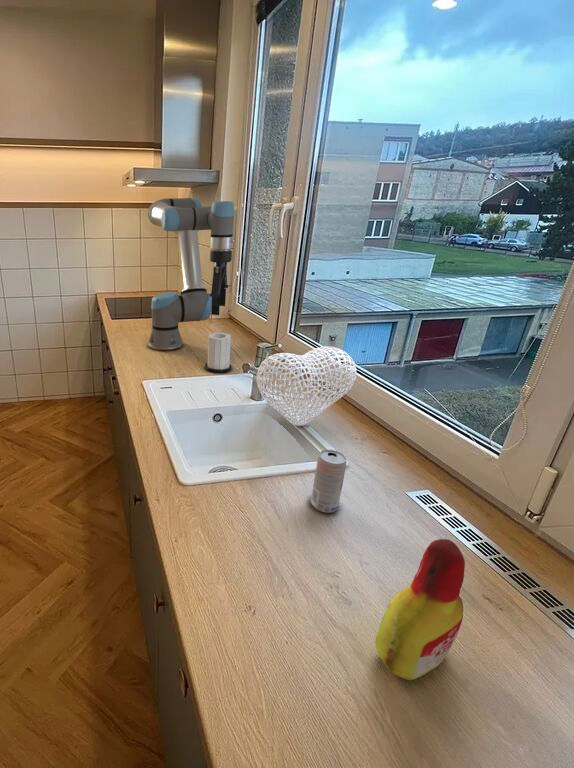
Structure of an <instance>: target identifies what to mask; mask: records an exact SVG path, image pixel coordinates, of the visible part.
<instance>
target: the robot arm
mask: <svg viewBox="0 0 574 768" xmlns="http://www.w3.org/2000/svg"><path fill="white" fill-rule="evenodd" d="M235 214H236V213H235V203H234V201H232V200H228V201H227V200H219V201H218V200H217V201H216V200H215V201H212V204H211V206H207V207H205V206H203V204H202V202H201V201H200V200H199V199H198V198H197V197H194V198H192V197H180V198H179V197H178V198H177V197H175V198H168V197H167V198H161V199H158V200H156V201H154V202H152V203H151V204H150V206H149V208H148V209H147V217H148V220H149V222H150V223H151V224H152V225H154V226H156V227H161V228H162V229H163V231H165V232H173V233H174V234H176V235H177V238H178V247H179V259H180V267H181V276H182V278H181V279H182V286H183V288H182V289H181V291H180V295H179V293H178V292H176V291H168V292H161V293H158V294H156V295H154V296H153V297H152V298H151V306H150V309H151V332H150V336H149V339H148V347H149V348H150V349H152V350H153V351H154V350H155V351H162V352H168V351H174V350H175V351H176V350H178V349H181V348H182V347H183V339H182V336H181V333H180V330H179V323H189V322H201V321H207V320H208V319H210V317H211V316H220V307H226V302H227V301H226V299H227V289H229V284H228V263H231V262H232V261H233V260H232V259H233V250H232V249H233V243H235V239H233V238H234V226H235V225H234V224H235V223H234V222H235ZM199 231H210V240H209V241H210V242H209V243H210V244H209V245H210V246H209V249H211V250H210V252H209V261H210V262H211V263H215V266H213V273H212V281H211V283H212V284H211V290H210V291H211V292H210V293H208V291H207V288H206V287H205V286H204V285H203V275H202V266H201V255H200V245H199V236H198V235H199V234H198V232H199Z"/></svg>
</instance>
